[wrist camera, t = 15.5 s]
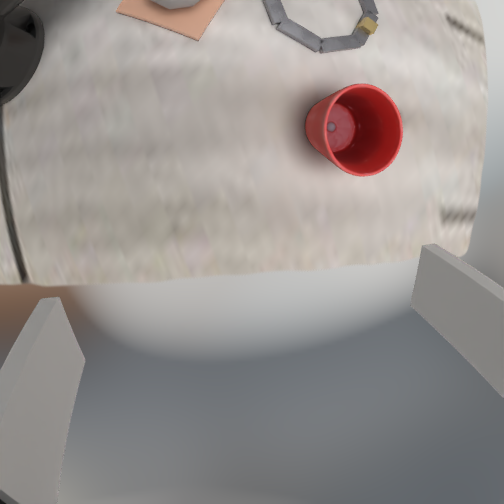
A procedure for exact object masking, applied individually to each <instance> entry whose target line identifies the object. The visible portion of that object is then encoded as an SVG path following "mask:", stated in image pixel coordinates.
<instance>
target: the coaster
mask: <svg viewBox="0 0 504 504" xmlns="http://www.w3.org/2000/svg"><path fill="white" fill-rule="evenodd" d="M224 1H225V0H200V1H199V2H198V3H196V4H195V5H194V6H193V7H185V8H178V9H168V8H166V7H164V6H161V5H159V4H157V3H155V2H153V1H151V0H123V1H122V2H121V4H120V5H119V7H118V8H117V10H116V12H117V13H120V14H123V15H127V16H130V17H133V18H136V19H140V20H143V21H146V22H149V23H152V24H155V25H158V26H160V27H163V28H166V29H169V30H171V31H174V32H177V33H179V34H182V35H184V36H187V37H189V38H192V39H194V40H197V41H199V39H200V37H201V36H202V34H203V33H204V31H205V29H206V28H207V26H208V25H209V23H210V22H211V20H212V18H213V17H214V15H215V14H216V12H217V11H218V9H219V8H220V6H221V5H222V4H223V2H224Z"/></svg>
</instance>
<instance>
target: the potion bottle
mask: <svg viewBox="0 0 504 504" xmlns="http://www.w3.org/2000/svg"><path fill="white" fill-rule="evenodd" d="M151 1H153V2H155V3H157V4H159V5H161V6H164V7H166V8H168V9H178V8H185V7H193V6H194V5H195V4H196V3H198V2H199V1H200V0H151Z"/></svg>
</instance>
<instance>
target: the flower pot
mask: <svg viewBox="0 0 504 504" xmlns="http://www.w3.org/2000/svg"><path fill="white" fill-rule="evenodd" d="M305 130H306V135H307V137H308V140H309V141H310V143H311V144H312V145H313V147H314V148H316V149H317V150H318V151H319V152H320V153H321V154H322V155H324V156H325V157H326V158H327V159H328V160H330V161H331V162H332V163H333V164H335V165H336V166H337V167H339V168H340V169H341V170H343V171H345V172H346V173H349V174H352V175H355V176H371V175H374V174H377V173H379V172H381V171H383V170H384V169H386V168H387V167H388V166H389V165H390V164H391V163H392V162H393V160H394V159H395V157H396V156H397V154H398V152H399V149H400V146H401V142H402V137H403V127H402V120H401V116H400V113H399V111H398V108H397V106H396V105H395V103H394V102H393V100H392V99H391V98H390V97H389V95H388V94H386V93H385V92H384V91H382V90H381V89H379V88H377V87H375V86H373V85H369V84H354V85H350V86H348V87H345V88H343V89H341V90H339V91H337V92H335V93H334V94H332V95H330V96H328V97H326V98H325V99H323V100H322V101H320V102H319V103H317V104H316V105H314V106H313V107H312V108H311V110H310V111H309V113H308V115H307V118H306V123H305Z"/></svg>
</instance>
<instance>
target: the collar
mask: <svg viewBox="0 0 504 504" xmlns="http://www.w3.org/2000/svg"><path fill="white" fill-rule="evenodd" d="M263 2H264V5H265V8H266V10H267V13H268V15H269V18H270V21H271V23H272V25H275V24H279V25H278V27H277V28H276V30H278V31H280V32H282V33H284V34H286V35H287V36H289V37H291V38H293V39H294V40H296V41H298V42H299V43H301V44H303V45H304V46H306V47H308V48H309V49H311V50H313V51H314V52H317V51H318V50H320V53H326V52H333V51H340V50H347V49H356V48H360V47H361V46H363V45H364V44H365V42H366V41H367V39H368V37H369V35H371V34H374V32H375V30H376V28H377V26H378V24H377V23H376V21H377V19H378V17H377V16H376V14H378V11H377V8H376V6H375V3H374V1H373V0H359V2H360V4H361V7H362V9H363V12H364V13H363V15H362V17H361V19H360V21H359V23H358V24H357V26H356V28H355V30H354V32H353V34H352V35H349V36H339V37H331V38H323V39H321V38H320V37H318V36H317V35H315V34H314V33H312V32H310V31H309V30H307V29H305V28H304V27H302V26H300V25H299V24H297V23H295V22H293V21H292V20H290V19H288V18H287V16H286V13H285V10H284V8H283V5H282V3H281V0H263Z"/></svg>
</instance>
